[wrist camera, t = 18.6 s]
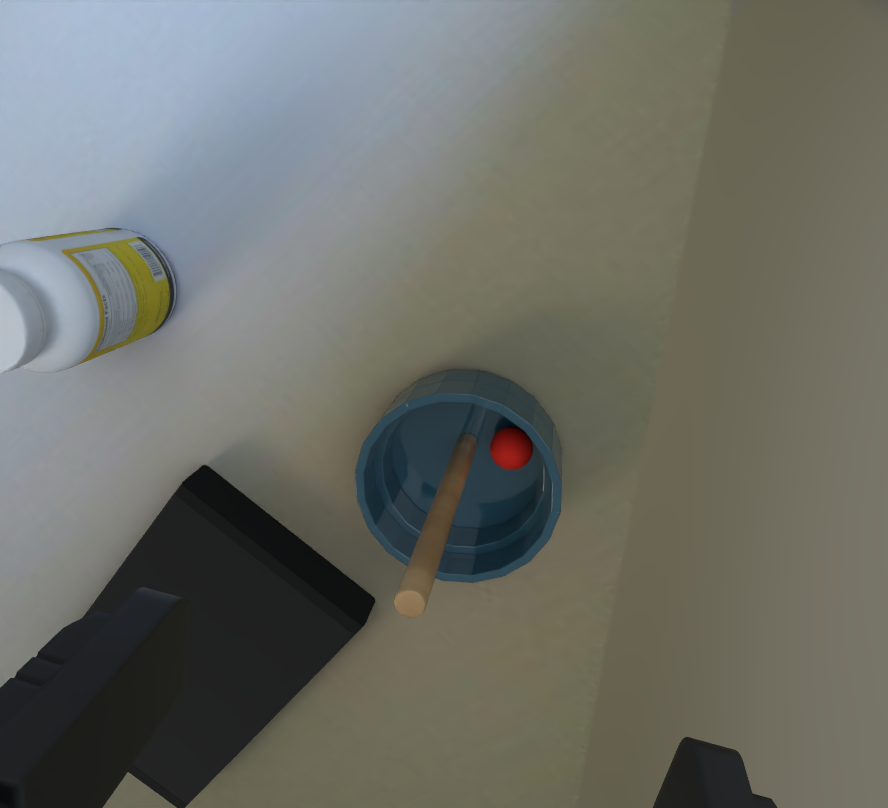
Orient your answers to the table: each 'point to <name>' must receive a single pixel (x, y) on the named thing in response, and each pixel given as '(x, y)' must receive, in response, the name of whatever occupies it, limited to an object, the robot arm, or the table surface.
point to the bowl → (487, 486)
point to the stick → (435, 532)
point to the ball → (511, 448)
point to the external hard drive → (232, 625)
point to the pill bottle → (79, 297)
